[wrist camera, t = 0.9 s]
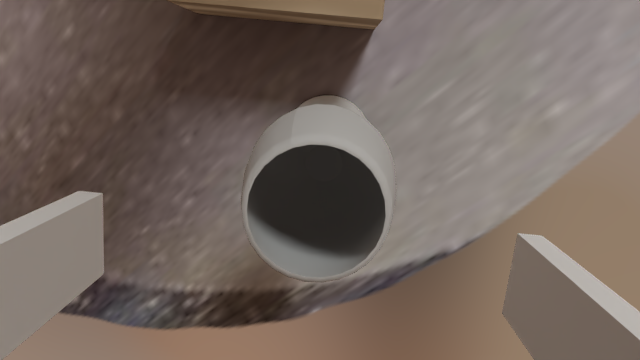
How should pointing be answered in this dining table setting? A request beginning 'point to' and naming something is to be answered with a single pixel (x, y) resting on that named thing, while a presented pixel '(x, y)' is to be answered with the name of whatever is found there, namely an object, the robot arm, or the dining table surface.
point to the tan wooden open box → (295, 10)
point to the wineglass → (319, 191)
